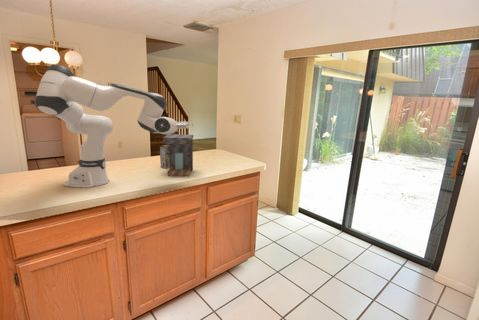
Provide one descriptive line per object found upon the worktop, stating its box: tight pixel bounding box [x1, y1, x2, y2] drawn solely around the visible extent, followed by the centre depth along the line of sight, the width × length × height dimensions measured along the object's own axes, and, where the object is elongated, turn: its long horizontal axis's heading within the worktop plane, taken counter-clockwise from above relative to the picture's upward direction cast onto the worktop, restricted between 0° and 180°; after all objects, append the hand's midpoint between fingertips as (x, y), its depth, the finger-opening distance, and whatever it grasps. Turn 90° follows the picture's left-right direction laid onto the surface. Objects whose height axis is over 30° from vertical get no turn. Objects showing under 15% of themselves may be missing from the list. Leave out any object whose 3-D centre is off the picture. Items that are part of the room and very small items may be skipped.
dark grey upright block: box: [162, 133, 194, 177], centre depth 168 cm, size 17×16×26 cm
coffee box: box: [159, 144, 170, 169], centre depth 184 cm, size 9×6×16 cm
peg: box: [175, 152, 183, 170], centre depth 168 cm, size 4×4×14 cm
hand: (173, 126), depth 148 cm, fingers open, 8 cm apart
